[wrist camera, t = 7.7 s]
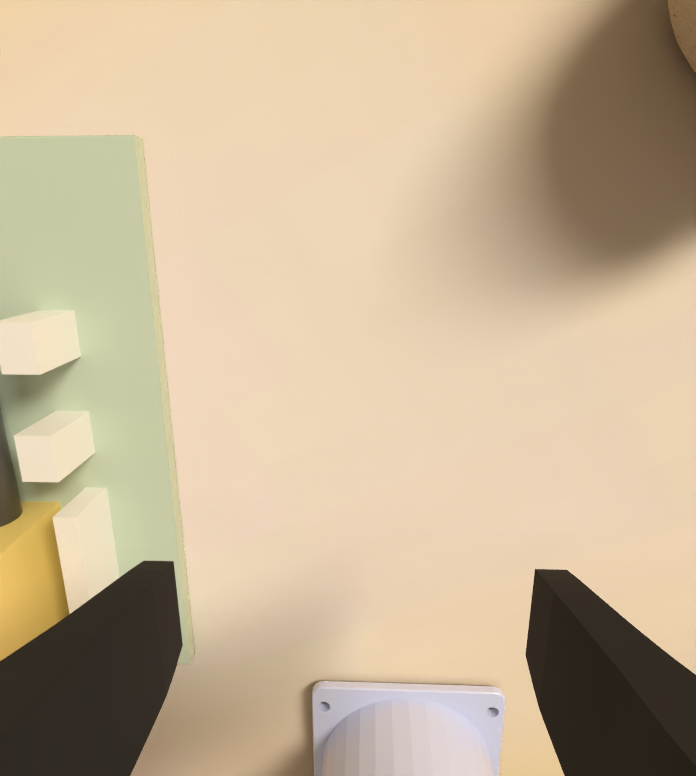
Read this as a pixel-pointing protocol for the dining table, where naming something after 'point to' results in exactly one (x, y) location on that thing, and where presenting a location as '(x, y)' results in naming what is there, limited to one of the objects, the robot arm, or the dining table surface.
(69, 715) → the robot arm
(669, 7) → the ceramic mug
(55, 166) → the board
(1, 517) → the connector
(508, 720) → the dining table surface
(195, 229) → the dining table surface
